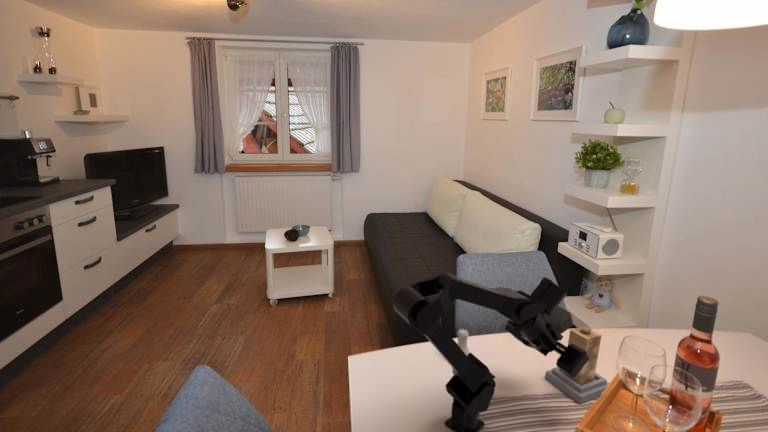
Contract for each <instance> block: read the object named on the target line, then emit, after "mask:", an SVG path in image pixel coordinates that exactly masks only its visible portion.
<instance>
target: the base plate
mask: <svg viewBox="0 0 768 432" xmlns="http://www.w3.org/2000/svg"><path fill="white" fill-rule="evenodd" d="M544 378H545V379H546V380H547V381H548V382H549V383H551V384H552V385H554V386H555V387H556V388H558V389H559V390H560V391H562V392H563V393H564V394H566V395H567V396H568V397H570V398H571V399H572V398H573V399H572V400H573V401H575V402H576V401H577V402H576V403H578V404H579V405H582V404H585V403H587V401H588V402H590V401H592V400H595V399H598V398H600V397H599V396H600V395H601V394H602V392H603V391H604V390H605V389H606V388H607V386H608V385H609V384H611V383H609V382H608V380H607V379H606V378H605V377H603V376H601V374H598V373H597V372H595V376H594V381H593V382H590V383H587V384H584V385H582V386H581V385H579V384H578V383H576V382H575V381H574V380H572V379H571V378H569V377H568V376H566V375H565V374H564V372H563V371H562V370H561V369H560V368H558V367H557V366H556V367H554V368H551V369H549V370H547V371H545V376H544Z"/></svg>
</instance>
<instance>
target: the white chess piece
mask: <svg viewBox="0 0 768 432" xmlns="http://www.w3.org/2000/svg"><path fill="white" fill-rule="evenodd" d="M456 334H457V336H458V337H457V344H458V346H459V347H460V348H461V349H462V351H463V352H464V353H465V354H466V356H468V354H469V353H470V351H469V348H468V343H467V342H468V340H469V339H468V338H469V336H470V334H469V330H467V328H459V329H458V331H457V333H456Z"/></svg>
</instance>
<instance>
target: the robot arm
mask: <svg viewBox="0 0 768 432" xmlns="http://www.w3.org/2000/svg"><path fill="white" fill-rule="evenodd" d="M434 295H438V297H437V298H435V299H434V300H432V301H431V300H430V299H428V298H427V297H430V296H434ZM567 296H568V294H567V292H566V290H565V289H563V288H561V287H560V286H559V285H557V284H556V283H554V282H553V281H552V280H551V279H549V278H547V277H546V276H544V277H543V278H542V279H541V280H540V282H539V284H538V285H537V286H536V287H535V289H534V290H533V291H532V292H531V294H528V293H527V292H525V291H523V290H514V289H512V288H511V287H510V288H509V287H500V286H499V287H496V288H493V287H488V286H486V285H482V284H479V283H477V282H473V281H470V280H468V279H465V278H462V277H461V278H460V277H458V276H455V275H453V274H452V273H450V272H442V273H440V274H438V275H436V276H435V277H432V278H427V279H424V280H419V281H416V282H414V283H412V284H410V285H409V286H407V287H403V288H402V289H400V290H398V292H397V293H396V294H395V296H394V299H393V302H392V308H393V310H394V311H395V312H396V314H398V315H399V316H400V317H402V319H403V320H404V321H406V323H407V324H408V325H410V327H411V328H413V329H414V330H416V331H417V332H419V333H420V334H421V335H423V336H425V338H426V339H427V340H428V341H429V342H430V344H432V346H433V347H434V348H435V349H436V351H437V352H438V353H439V354H440V355H441V356H442V358H443V359H444V360H445V361H446V362H447V363H448V364H449V366H450V367H451V368H452V374H453V376H451V378H450V379H449V381H447V383H446V384H445V390H446V392H447V393H448V394H449V395H450V396H451V397H452V398H453V399H452V400H453V401H452V403H451V404H452V405H451V414H450V415H451V416H450V417H449V418H448V419H446V421H444V425H445V426H446V427H448V428H449V429H450V430H451V431H454V432H479V431H480V430H482V429H483V428H484V427H485V422H484V421H482V420H480V413H484V412H486V411H488V409H489V407H490V405H491V401H492V399H493V397H494V394H495V390H496V389H495V388H496V387H497V382H496V380H495V379H496V378H497V377H496V376H495V374H494V373H492V372H491V371H490V369H489V367H488V366H487V365H486V364H485V363H483V362H482V361H481V360H480V359H479V358H478V357H477V356H475V355H474V354H473V353H472V352H470V351H469V354H468V356H466V354H465V353H464V352H463V351H462V349H461V348H460V347H459V346H458V342H456V341H455V339H454V338H453V337H452V335H450V333H449V331H447V330H446V328H445V327H444V326H443V325H442V322H441V317H442V316H443V315H445V314H446V312H447V311H448V309H449V308H450V306H452V305H451V304H453V302H455V301H457V300H459V301H463V302H466V303H469V304H472V305H475V306H480V307H483V308H486V309H490V310H492V311H493V310H494V311H496V312H497V313H499V314H500V315H502V316H504V317H505V318H506V319H509V320H507V321H506V324H505V327H504V330H505V331H506V332H508V333H509V334H510V335H511V336H513V337H514V339H516V340H517V341H518V342H519V343H521V344H523V345H525V346H526V347H529V348H532V349H534V350H535V351H537V352H538V353H540V354H541V355H543V356H544V357H547V355H548V354H549V353H552V352H555V353H557V354H558V355H559V356H558V358H557V359H556V364H555V365H556V367H558V368H560V369H561V370H562V371H563V372H565V373H566V374H568V375H569V376H571V377H576V376H577V374H578V373H579V372H580V370H581V369H582V368H583V366H584V365H585V364H586V363H587V361H588V360H589V359H590V358H589V355H588V353H587V352H586V351H585V350H583V349H581V348H580V347H578V346H576V345H575V344H570V345H568V344H567V346H566V345H564V344H563V343H561V341H562V339H564V336H563V335H562V334H563V333H565V332H566V331H567V330H568V329H569V330H570V328H572V327H573V326H574V320H573V316H572V314H571V312H570V311H568V310H566V309H564V308H562V307H560V304H561V303H562V302H563V300H564V299H565V298H566V297H567Z"/></svg>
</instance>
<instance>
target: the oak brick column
mask: <svg viewBox="0 0 768 432" xmlns="http://www.w3.org/2000/svg"><path fill="white" fill-rule="evenodd" d="M601 340H602V334H600V333H598V331H597V332H596V331H595V330H593V329H592V328H591V327H590V326H588V325H582V326H579V327H574V328H571V329H569V335H568V341H567V346H568V345H570V344H575V345H576V346H578V347H580V348H581V349H583V350H585V351H586V352H587V353H588V355H589V358H590V359H589V360H588V361H587V363H586V364H585V365H584V366H583V368H582V369H581V370H580V372H579V373H578V374H577V376H576V377H571V376H569V375H568V374H566V373H565V372H564V374H565V375H566V376H568V377H569V378H571V379H572V380H574V381H575V382H576V383H578V384H579V385H581V386H582V385H584V384H587V383H590V382H593V381H594V376H595V373H596V368H597V364H598V363H597V362H598V359H599V352H600V346H601V342H602V341H601Z"/></svg>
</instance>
